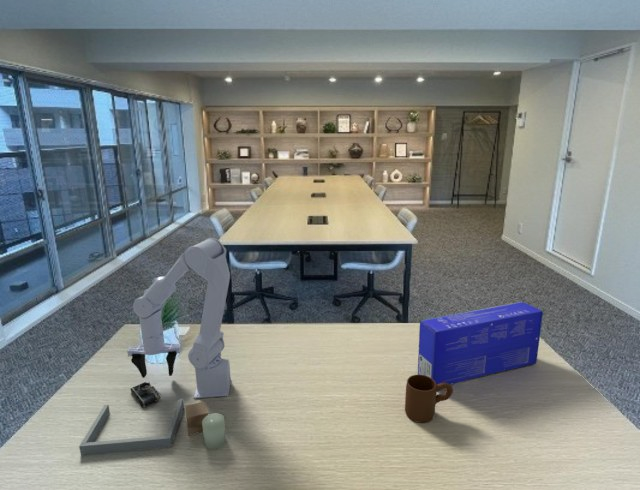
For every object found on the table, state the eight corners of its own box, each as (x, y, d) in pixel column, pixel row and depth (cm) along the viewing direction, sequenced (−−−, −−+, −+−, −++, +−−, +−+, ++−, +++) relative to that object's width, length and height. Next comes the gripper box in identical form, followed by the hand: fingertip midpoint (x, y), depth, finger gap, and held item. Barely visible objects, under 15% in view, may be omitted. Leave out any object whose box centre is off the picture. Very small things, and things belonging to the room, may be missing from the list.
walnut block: (206, 417, 104) (205, 400, 103) (209, 430, 99) (207, 413, 98) (186, 422, 102) (184, 405, 101) (188, 435, 98) (186, 418, 96)
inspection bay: (184, 406, 108) (183, 398, 107) (171, 447, 94) (170, 438, 93) (105, 413, 106) (104, 405, 105) (80, 455, 92) (79, 446, 91)
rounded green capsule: (226, 433, 98) (225, 412, 97) (224, 448, 93) (222, 426, 92) (206, 435, 98) (203, 414, 96) (202, 450, 93) (200, 429, 91)
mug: (446, 404, 108) (448, 373, 106) (455, 423, 101) (458, 391, 98) (401, 404, 108) (403, 374, 106) (408, 424, 101) (410, 392, 98)
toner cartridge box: (516, 351, 134) (523, 300, 129) (536, 364, 127) (545, 311, 122) (415, 374, 122) (419, 318, 117) (431, 390, 114) (436, 331, 110)
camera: (148, 385, 118) (147, 372, 117) (162, 402, 110) (160, 389, 109) (130, 392, 114) (128, 379, 113) (143, 410, 107) (141, 397, 106)
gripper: (181, 325, 120) (185, 365, 124) (130, 328, 118) (136, 369, 122) (176, 337, 113) (180, 379, 117) (122, 340, 112) (128, 382, 115)
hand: (157, 374), depth 119 cm, fingers open, 7 cm apart
